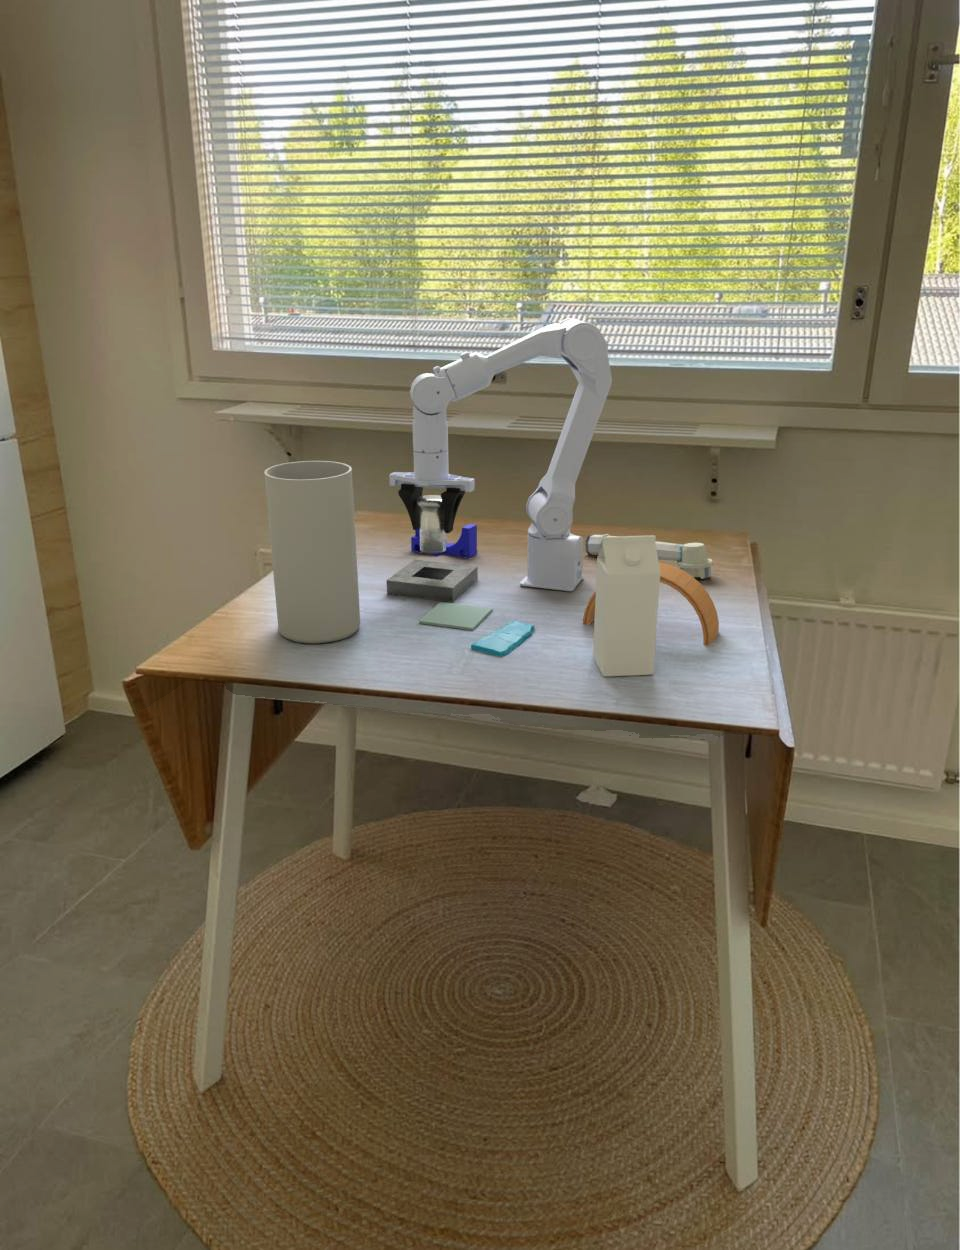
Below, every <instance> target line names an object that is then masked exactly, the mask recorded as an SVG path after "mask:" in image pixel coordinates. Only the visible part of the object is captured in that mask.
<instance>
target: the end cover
mask: <svg viewBox="0 0 960 1250" xmlns="http://www.w3.org/2000/svg"><path fill="white" fill-rule="evenodd" d="M416 505H417V506H419V523H420V551H422V552H424V553H423V554H425V553H441V552H444V551H446V542H447V533H445V532H444V510H443V504H442V499H441V494H430V495H429V494H428V495H427V494H426V495H425V494H424V495H422V496H420V497H418V498H416Z"/></svg>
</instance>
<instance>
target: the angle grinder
mask: <svg viewBox="0 0 960 1250" xmlns="http://www.w3.org/2000/svg"><path fill="white" fill-rule="evenodd" d="M603 537H618V536H615V535H610V534H609V533H606V534H591V535H588V536H587V537H586V540H585V542H584V546H585V553H586V554H587V555H590V554H591V556H596V555H599V552H600V550H601V548H602V546H603ZM655 544H656V550H657V555H658V561H674V562H676V567H677V568H679V569H681V570H683V571H685V572H686V573H688V574H690V575H691V576H693V577H694V578H699V579H701V580H703V579H708V578H709V577H712V571H711V567H712V566H713V565H714V563H713V562H714V561H713V559H711V558H708V551H707V548H706V546H705V544H704V543H702V542H688V543H684V544H681V543H675V542H673V543H672V542H665V541H657V540H656V541H655Z"/></svg>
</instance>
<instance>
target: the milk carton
mask: <svg viewBox="0 0 960 1250" xmlns="http://www.w3.org/2000/svg"><path fill="white" fill-rule="evenodd" d="M656 539H657V536H656V535H627V536H626V535H625V536H617V537H603V546H602V548H601V550H600V552H599V555H598V556H596V557H597V558H596V574H595V575H596V578H595V579H596V580H595V591H596V598H595V620H594V621H593V622H594V626H593V648H592V649H593V651H592V657H593V659H594V660H595V662H596V664H597V666H598V669H599V671H600V672H601V675H602V677H624V676H625V677H627V676H647V675H649V676H650V675H654V674H655V673H654V670H655V669H654V668H655V658H656V644H657V642H656V640H657V630H658V629H657V625H658V613H659V612H658V611H659V600H660V599H659V597H660V596H659V595H660V583H661V582H660V567H659V563H660V560H658V555H657V550H656V544H655V541H657V540H656Z"/></svg>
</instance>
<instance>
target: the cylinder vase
mask: <svg viewBox="0 0 960 1250" xmlns="http://www.w3.org/2000/svg"><path fill="white" fill-rule="evenodd" d="M263 473H264V482H265V483H264V485H265V493H266V495H265V496H266V504H267V505H266V507H267V516H268V526H269V527H268V529H269V539H270V551H271V560H272V561H271V562H272V572H273V573H272V574H273V584H274V594H275V595H274V596H275V604H276V605H275V606H276V616H277V629H278V631H279V633H280V635H281V636H283V637H284V638H286V639H287V640H289V641H292V642H296V643H301V644H314V645H315V644H327V643H332V642H337V641H340V640H344V639H346V638H348V637H350V636H352V635H354V634H355V633H356V632H357V631H358V630H359V628H360V625H361V612H360V593H359V591H360V590H359V575H358V557H357V554H358V553H357V537H356V524H355V522H356V521H355V519H356V518H355V503H354V500H355V499H354V486H353V483H354V482H353V468H352V466H351V465H348V464H347V463H343V462H339V461H338V462H337V461H330V460H303V461H294V462H293V461H292V462H285V463H281V464H276V465H273V466H269V467H268V468H266V469H265V470H264V472H263Z"/></svg>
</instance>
